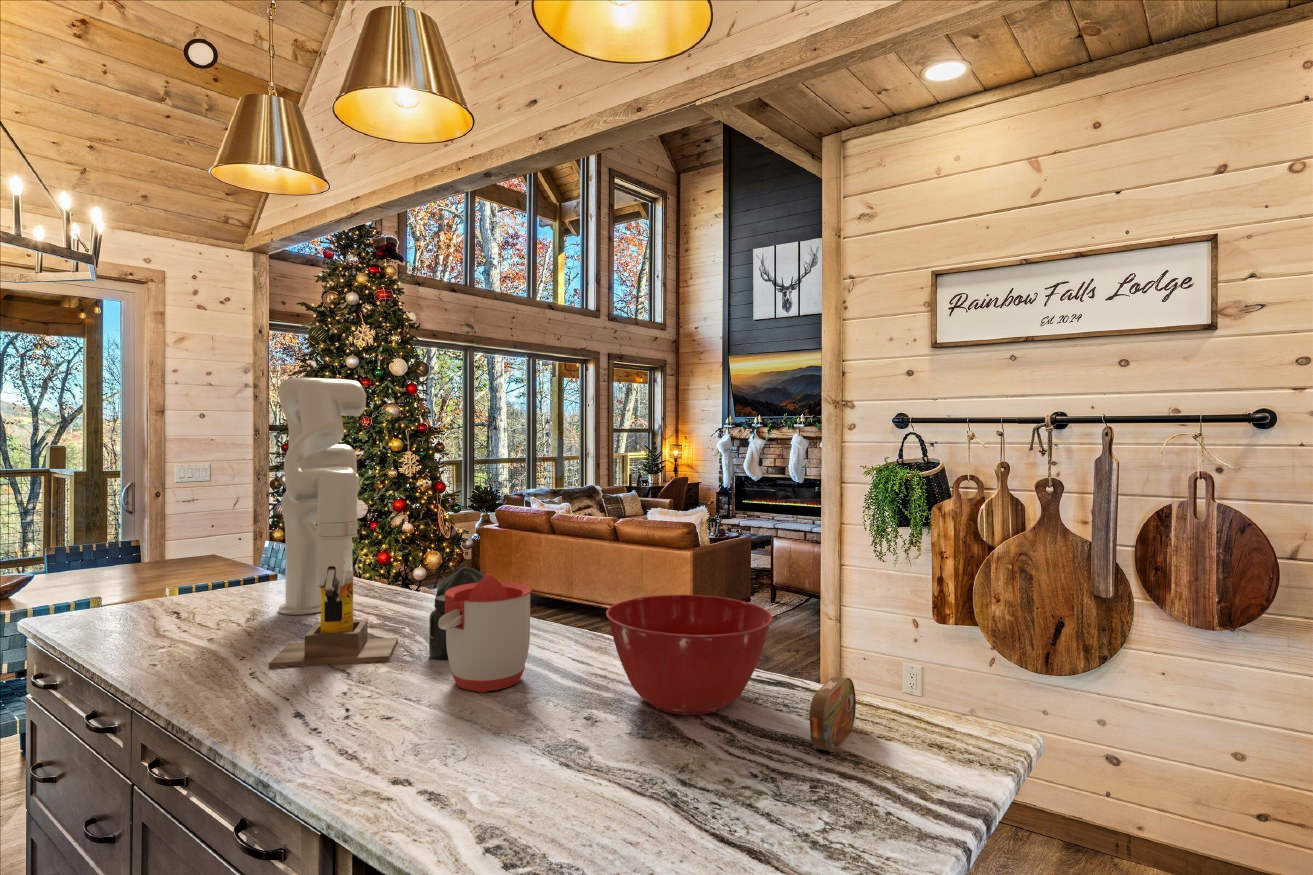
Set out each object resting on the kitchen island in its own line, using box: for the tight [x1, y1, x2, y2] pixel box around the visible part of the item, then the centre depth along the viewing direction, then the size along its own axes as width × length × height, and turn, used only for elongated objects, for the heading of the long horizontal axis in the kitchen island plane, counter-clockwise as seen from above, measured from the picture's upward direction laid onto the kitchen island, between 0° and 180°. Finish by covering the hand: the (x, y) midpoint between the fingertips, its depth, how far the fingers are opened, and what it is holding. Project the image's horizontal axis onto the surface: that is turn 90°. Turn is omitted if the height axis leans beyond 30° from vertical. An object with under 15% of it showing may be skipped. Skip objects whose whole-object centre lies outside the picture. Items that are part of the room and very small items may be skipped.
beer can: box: [320, 565, 354, 633], centre depth 147 cm, size 6×6×15 cm
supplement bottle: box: [428, 595, 449, 661], centre depth 147 cm, size 7×7×12 cm
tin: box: [808, 676, 857, 753], centre depth 108 cm, size 15×3×8 cm, turn 148°
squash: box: [434, 566, 486, 610], centre depth 170 cm, size 14×15×15 cm
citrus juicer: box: [438, 573, 533, 693], centre depth 131 cm, size 16×17×20 cm
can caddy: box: [268, 619, 399, 668], centre depth 147 cm, size 13×22×6 cm, turn 102°
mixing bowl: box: [605, 594, 773, 716], centre depth 123 cm, size 28×28×16 cm
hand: (337, 615), depth 147 cm, fingers closed on beer can, 6 cm apart
